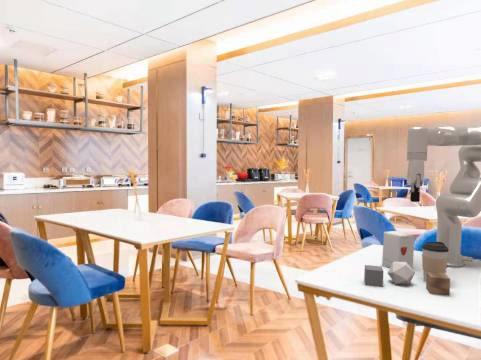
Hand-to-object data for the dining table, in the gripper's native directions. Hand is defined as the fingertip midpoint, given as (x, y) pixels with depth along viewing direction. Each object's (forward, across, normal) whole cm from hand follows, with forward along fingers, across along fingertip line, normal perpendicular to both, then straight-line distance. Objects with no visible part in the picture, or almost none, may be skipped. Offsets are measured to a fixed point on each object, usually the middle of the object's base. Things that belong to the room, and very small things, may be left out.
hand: (414, 201), depth 148 cm
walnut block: (+29, +24, +4) cm, 38 cm away
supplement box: (+29, -4, -5) cm, 30 cm away
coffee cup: (+29, +12, +5) cm, 32 cm away
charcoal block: (+29, +22, -17) cm, 40 cm away
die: (+29, +18, -7) cm, 35 cm away
